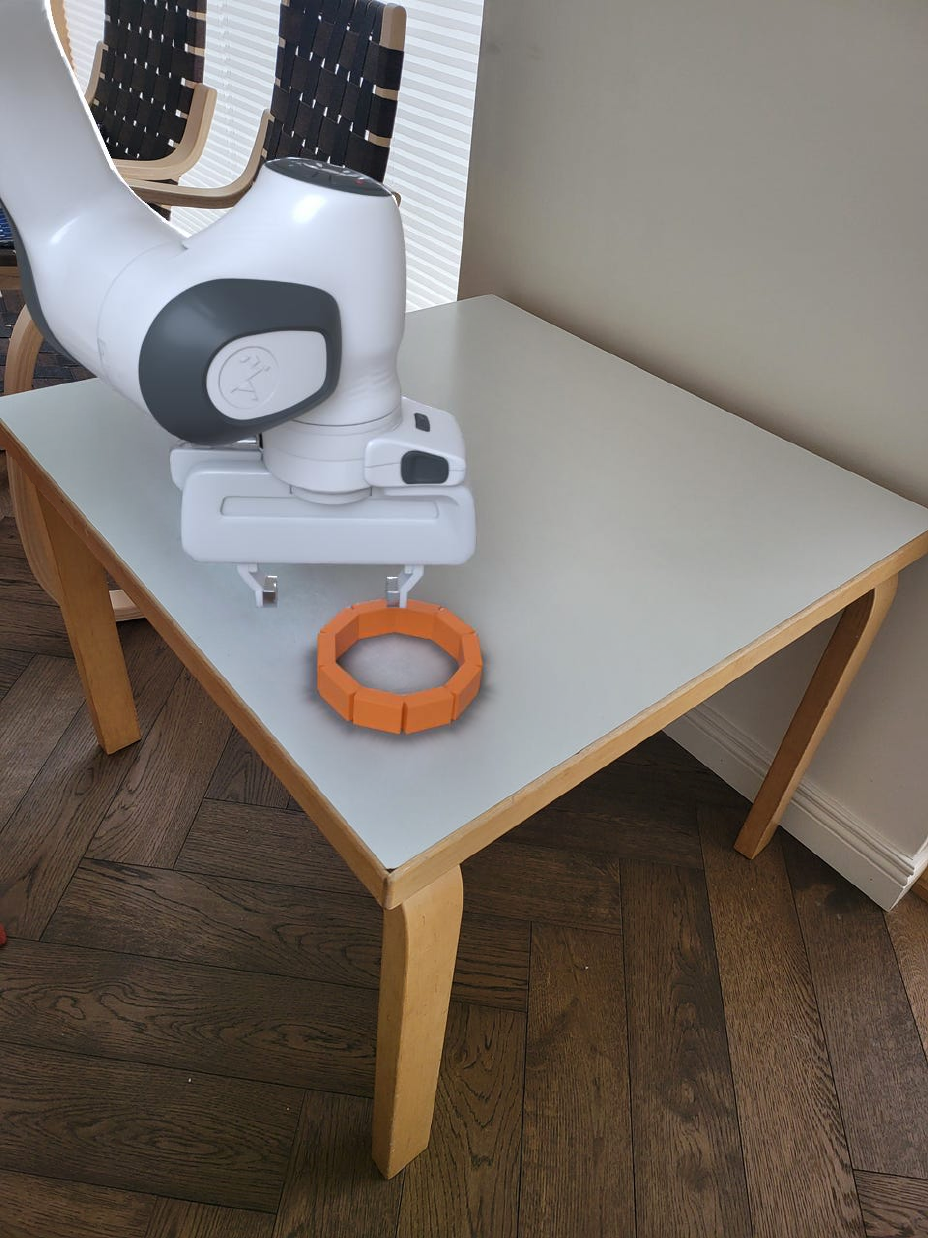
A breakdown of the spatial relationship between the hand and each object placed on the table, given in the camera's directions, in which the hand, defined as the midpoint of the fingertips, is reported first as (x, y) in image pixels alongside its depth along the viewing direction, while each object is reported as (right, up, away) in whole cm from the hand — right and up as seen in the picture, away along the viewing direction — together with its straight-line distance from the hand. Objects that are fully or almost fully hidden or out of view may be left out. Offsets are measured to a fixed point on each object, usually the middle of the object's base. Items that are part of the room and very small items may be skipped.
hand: (332, 603), depth 68 cm
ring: (+4, -6, +6) cm, 9 cm away
